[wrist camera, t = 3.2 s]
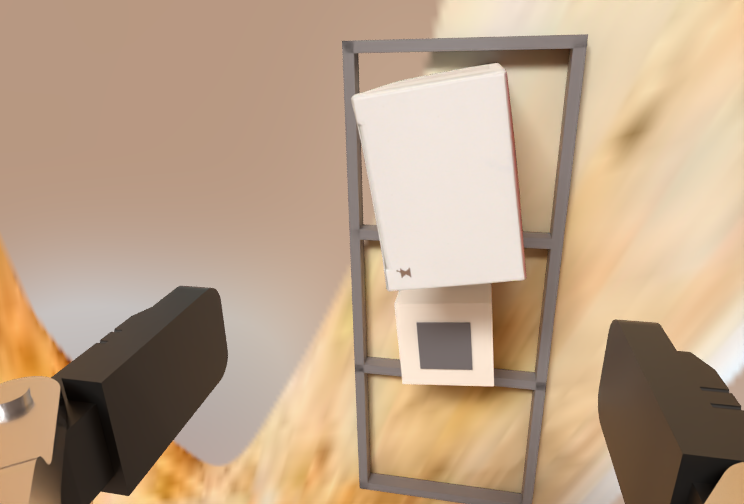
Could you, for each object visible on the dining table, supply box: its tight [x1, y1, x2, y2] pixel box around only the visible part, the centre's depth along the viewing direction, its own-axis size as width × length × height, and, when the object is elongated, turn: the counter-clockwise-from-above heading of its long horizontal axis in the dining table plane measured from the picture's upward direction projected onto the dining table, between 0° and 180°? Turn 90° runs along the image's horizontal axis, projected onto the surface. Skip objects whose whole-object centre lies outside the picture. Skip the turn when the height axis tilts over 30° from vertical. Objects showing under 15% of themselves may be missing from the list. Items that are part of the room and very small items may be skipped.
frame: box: [342, 34, 588, 504], centre depth 32 cm, size 30×12×1 cm, turn 1°
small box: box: [351, 63, 526, 291], centre depth 24 cm, size 8×6×10 cm
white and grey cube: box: [394, 283, 494, 386], centre depth 30 cm, size 5×5×5 cm
